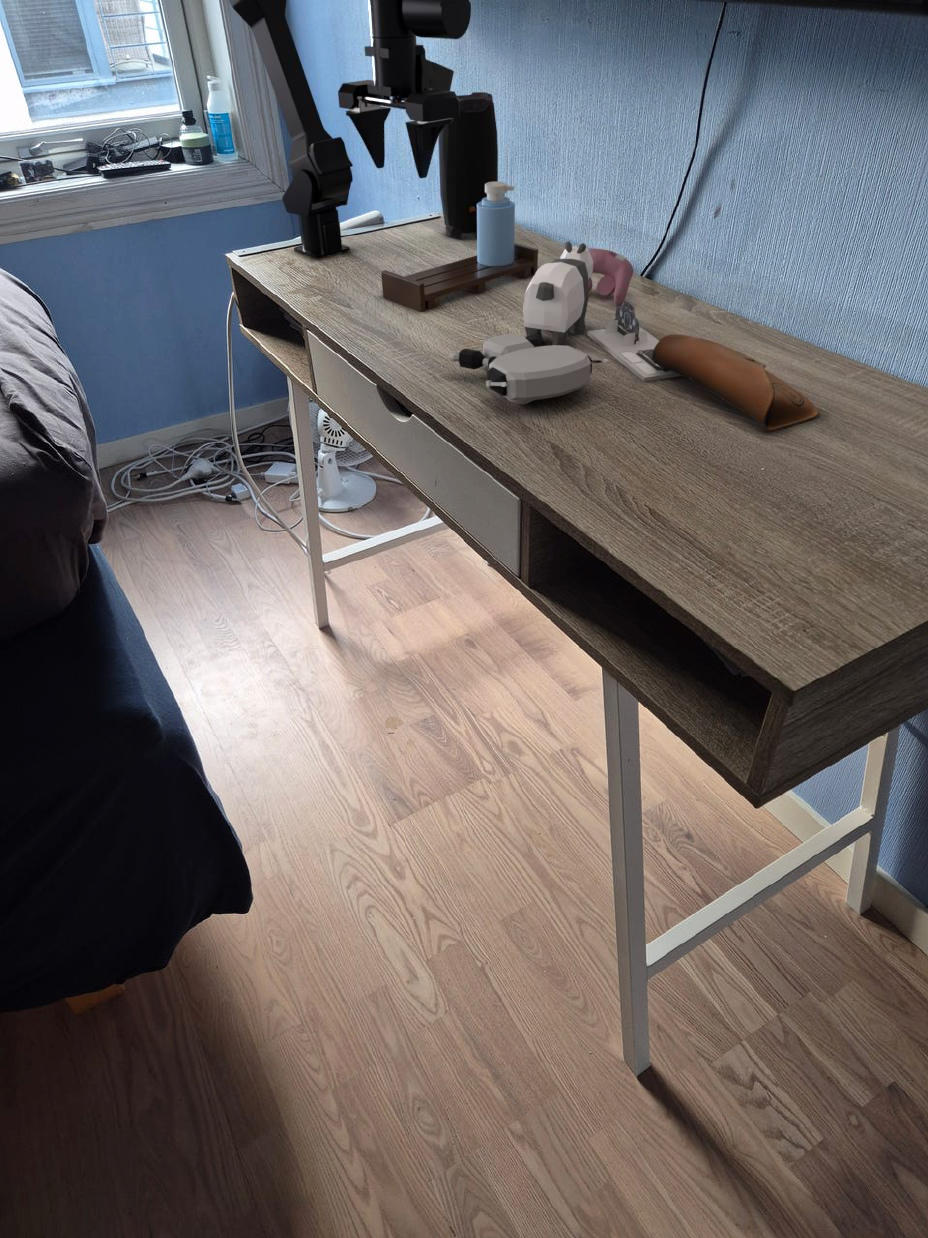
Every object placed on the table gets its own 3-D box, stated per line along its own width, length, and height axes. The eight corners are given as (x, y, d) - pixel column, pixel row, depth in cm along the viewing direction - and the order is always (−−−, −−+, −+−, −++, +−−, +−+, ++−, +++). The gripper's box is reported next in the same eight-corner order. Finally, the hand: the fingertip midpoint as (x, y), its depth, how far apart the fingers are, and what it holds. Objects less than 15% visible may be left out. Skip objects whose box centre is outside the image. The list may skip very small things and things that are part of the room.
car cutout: (587, 334, 106) (589, 297, 103) (636, 327, 107) (640, 290, 105) (643, 381, 95) (648, 340, 92) (698, 373, 96) (704, 333, 93)
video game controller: (628, 310, 116) (640, 255, 115) (621, 305, 112) (632, 247, 111) (558, 301, 120) (569, 248, 118) (549, 295, 116) (559, 240, 114)
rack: (382, 297, 118) (380, 271, 116) (498, 262, 129) (498, 237, 127) (421, 311, 113) (419, 284, 111) (537, 274, 125) (538, 248, 122)
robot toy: (443, 380, 98) (508, 423, 86) (440, 340, 95) (507, 378, 84) (537, 360, 102) (611, 398, 91) (537, 320, 99) (613, 354, 88)
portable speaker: (489, 242, 138) (489, 100, 126) (434, 238, 140) (428, 98, 128) (503, 227, 144) (504, 91, 132) (450, 224, 147) (446, 90, 134)
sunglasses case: (828, 410, 87) (817, 362, 82) (774, 457, 87) (760, 411, 82) (708, 348, 99) (693, 303, 94) (661, 389, 99) (644, 345, 94)
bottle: (472, 264, 122) (471, 186, 116) (484, 254, 126) (484, 178, 120) (507, 267, 121) (508, 189, 115) (518, 257, 125) (520, 180, 118)
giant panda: (562, 355, 101) (567, 270, 95) (518, 348, 102) (520, 264, 97) (601, 315, 111) (607, 235, 105) (560, 309, 113) (564, 231, 107)
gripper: (490, 34, 108) (490, 173, 118) (396, 27, 119) (403, 154, 129) (422, 42, 102) (428, 187, 112) (330, 33, 113) (342, 166, 123)
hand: (401, 172), depth 119 cm, fingers open, 9 cm apart
